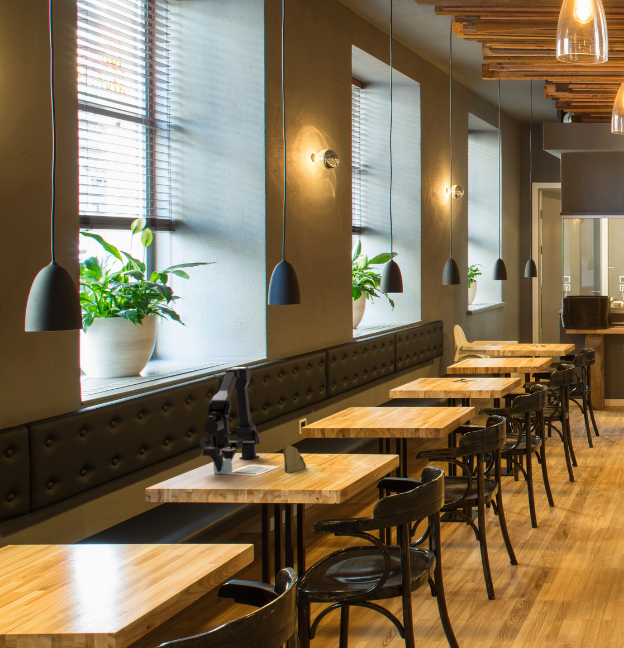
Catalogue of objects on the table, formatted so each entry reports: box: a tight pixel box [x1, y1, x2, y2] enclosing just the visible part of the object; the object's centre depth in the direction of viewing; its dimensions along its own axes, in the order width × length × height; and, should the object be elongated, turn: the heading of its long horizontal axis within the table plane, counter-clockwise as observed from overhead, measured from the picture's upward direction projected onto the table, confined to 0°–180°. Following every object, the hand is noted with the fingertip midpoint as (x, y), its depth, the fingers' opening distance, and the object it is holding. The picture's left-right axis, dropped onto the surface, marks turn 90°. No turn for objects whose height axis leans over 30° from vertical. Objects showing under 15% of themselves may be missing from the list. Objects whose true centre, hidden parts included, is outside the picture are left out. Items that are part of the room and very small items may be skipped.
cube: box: [212, 458, 233, 475], centre depth 314 cm, size 5×5×5 cm
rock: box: [283, 444, 307, 474], centre depth 314 cm, size 11×9×10 cm
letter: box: [225, 463, 282, 477], centre depth 317 cm, size 18×14×1 cm
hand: (223, 470), depth 314 cm, fingers closed on cube, 5 cm apart
